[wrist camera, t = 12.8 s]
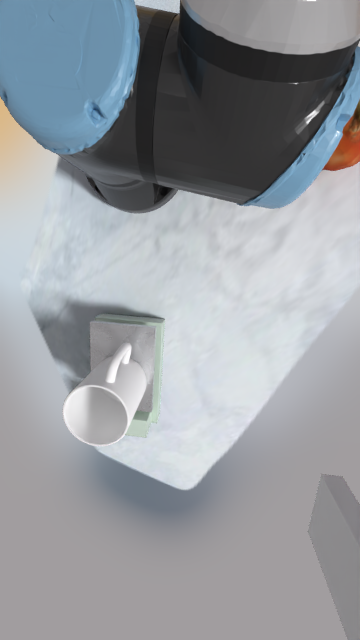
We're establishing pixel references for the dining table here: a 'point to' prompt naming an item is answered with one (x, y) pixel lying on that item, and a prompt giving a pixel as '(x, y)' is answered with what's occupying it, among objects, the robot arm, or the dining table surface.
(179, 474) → the dining table surface
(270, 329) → the dining table surface
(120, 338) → the speckled metal plate
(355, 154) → the tomato
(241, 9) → the robot arm
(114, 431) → the cup
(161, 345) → the scale base
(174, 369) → the dining table surface
